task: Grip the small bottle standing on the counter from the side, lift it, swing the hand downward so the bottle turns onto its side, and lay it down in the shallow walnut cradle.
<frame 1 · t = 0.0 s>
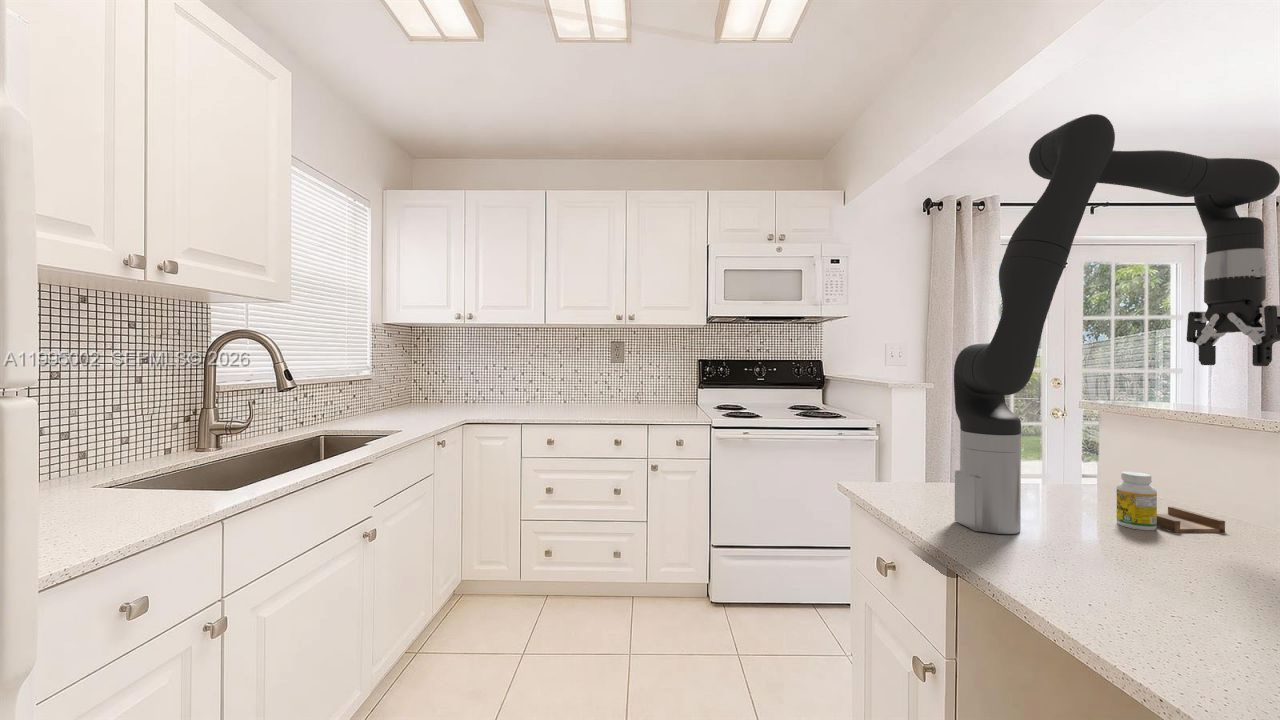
hand: (1233, 365, 97), 29 cm above the countertop, tool pointing down, fingers open, 8 cm apart
supplement bottle: (1136, 527, 97), on the countertop
cradle: (1173, 524, 98), on the countertop
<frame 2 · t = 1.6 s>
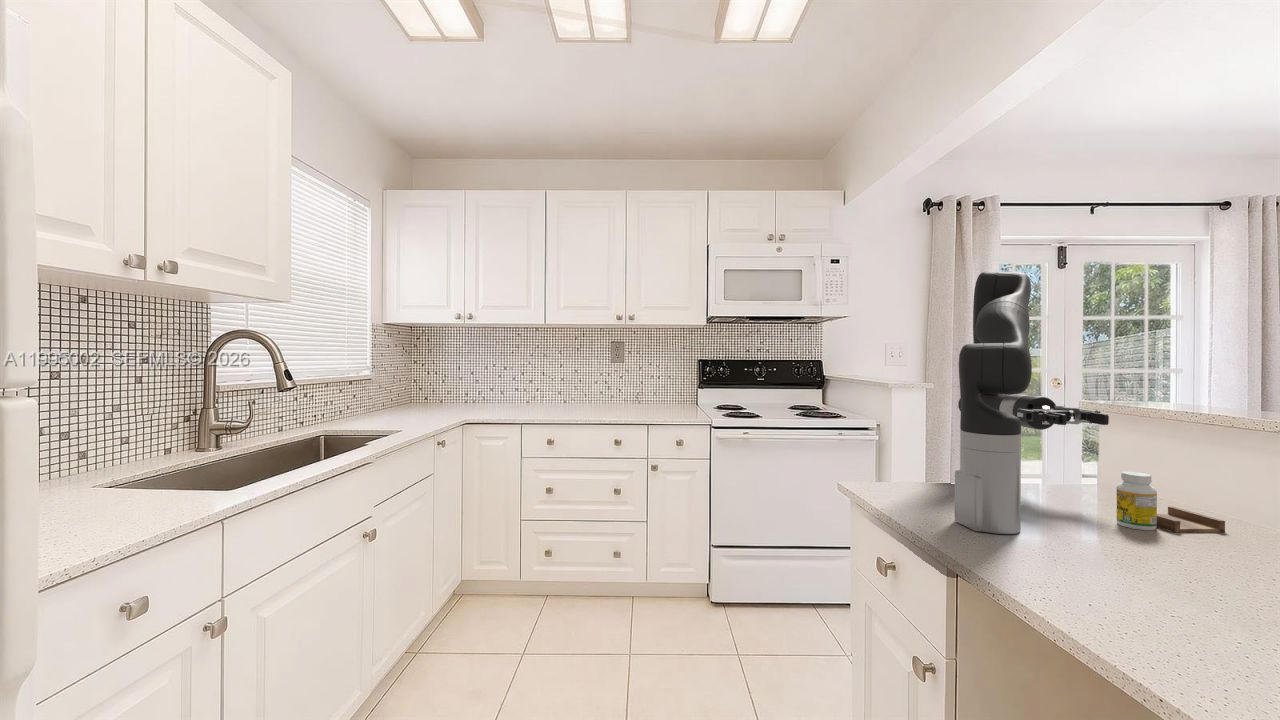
hand: (1086, 419, 108), 18 cm above the countertop, tool horizontal, fingers open, 8 cm apart
nothing on the countertop moved.
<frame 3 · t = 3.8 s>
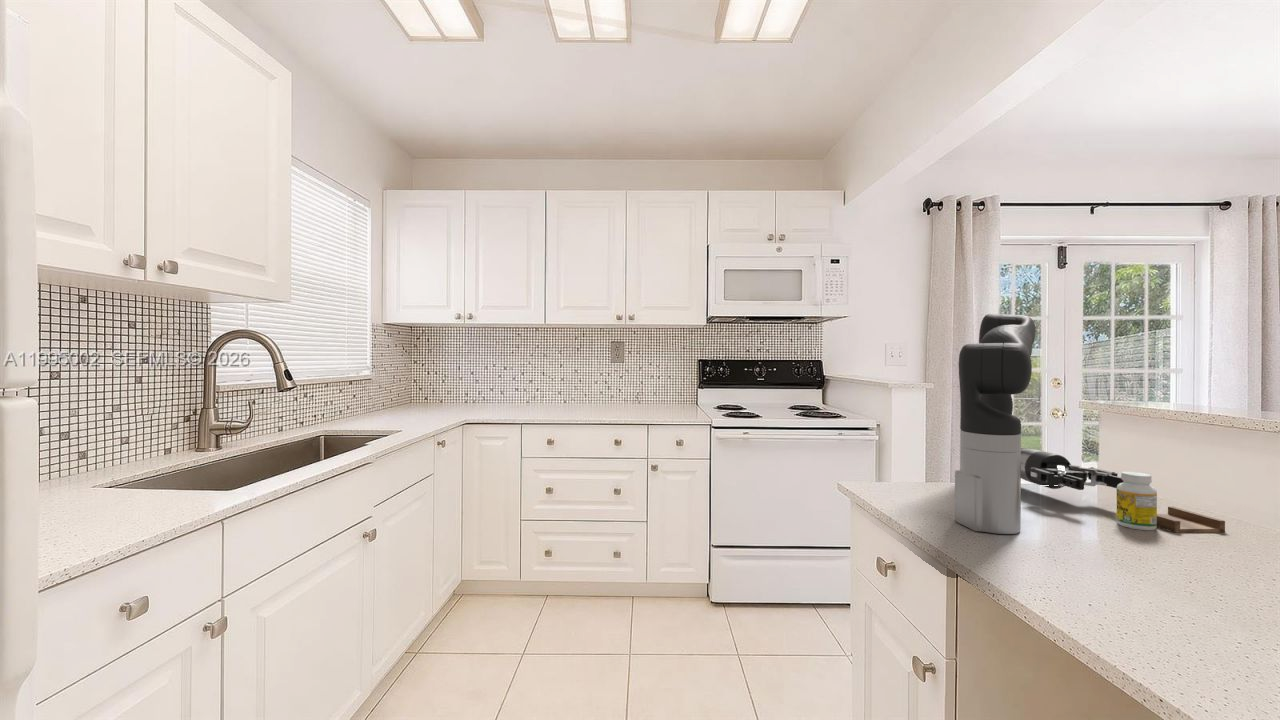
hand: (1104, 484, 103), 6 cm above the countertop, tool horizontal, fingers open, 8 cm apart
nothing on the countertop moved.
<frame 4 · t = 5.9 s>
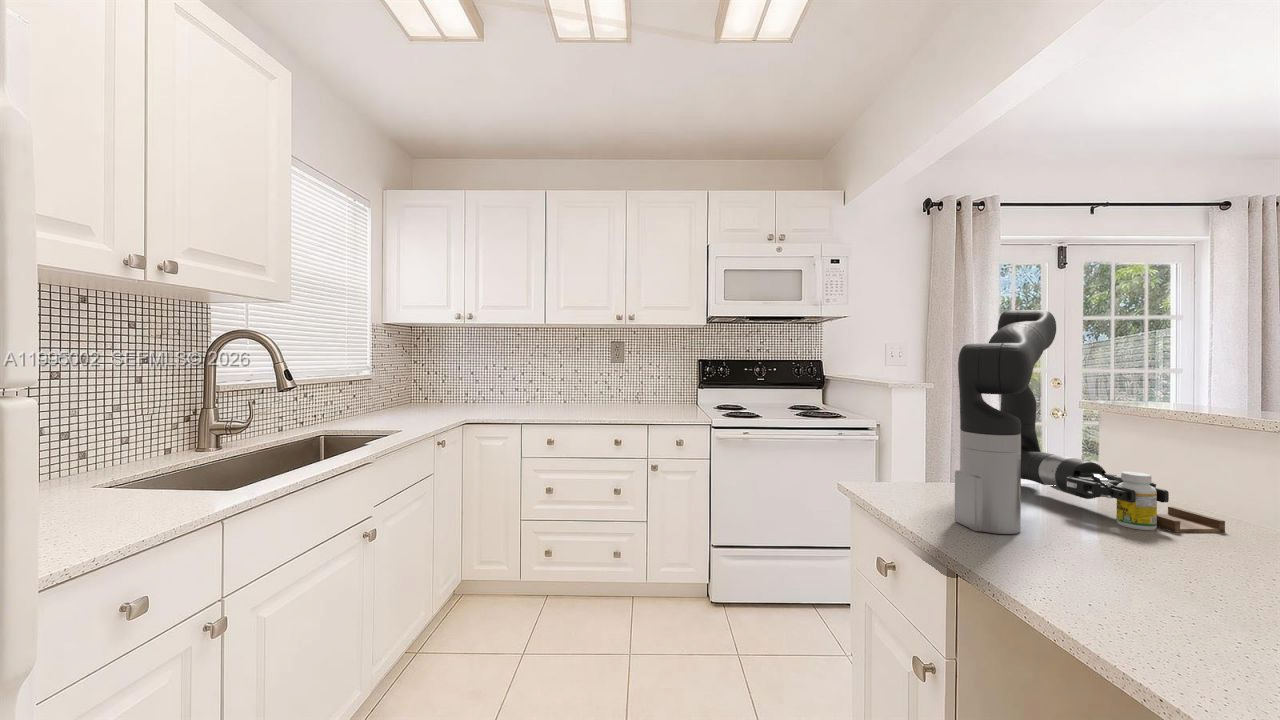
hand: (1149, 496, 94), 6 cm above the countertop, tool horizontal, fingers closed on supplement bottle, 5 cm apart
supplement bottle: (1136, 527, 97), on the countertop, touching gripper
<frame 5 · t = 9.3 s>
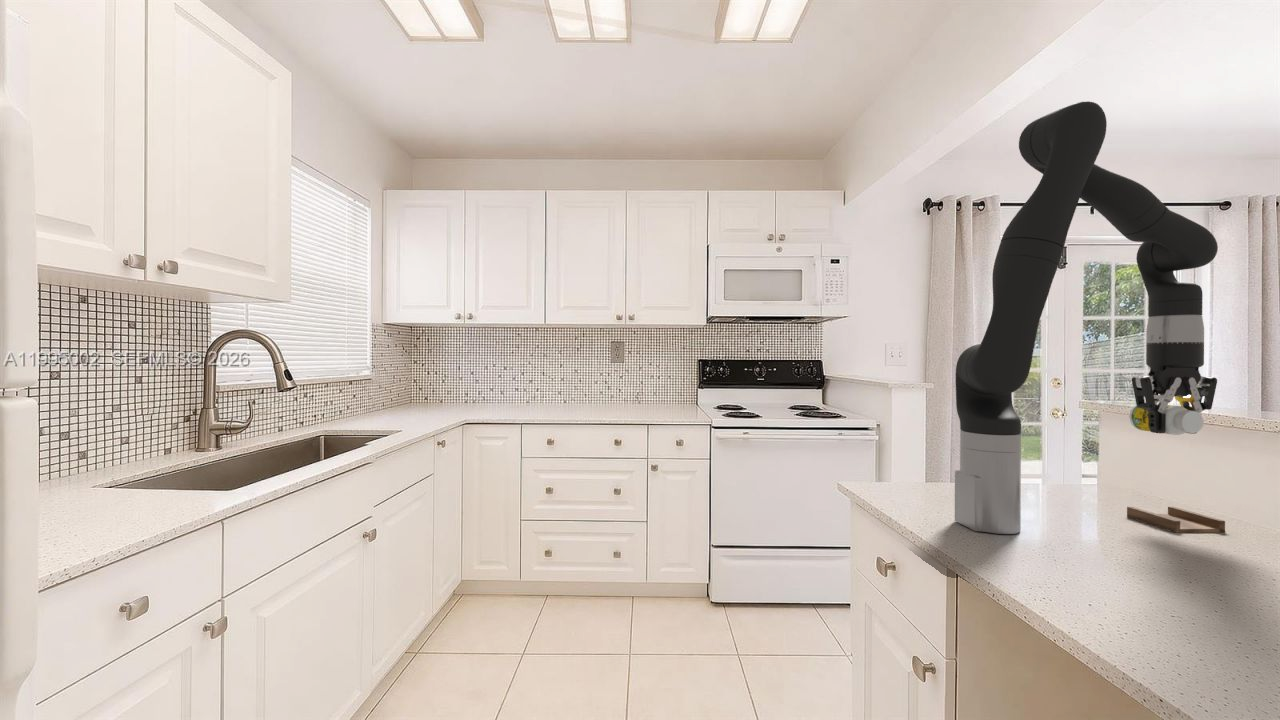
hand: (1173, 432, 98), 17 cm above the countertop, tool pointing down, fingers closed on supplement bottle, 5 cm apart
supplement bottle: (1140, 416, 104), point 19 cm above the countertop, touching gripper
when the fingers open (3 cm above the countertop, at t = 12.2 s): supplement bottle drops 2 cm, resting on cradle.
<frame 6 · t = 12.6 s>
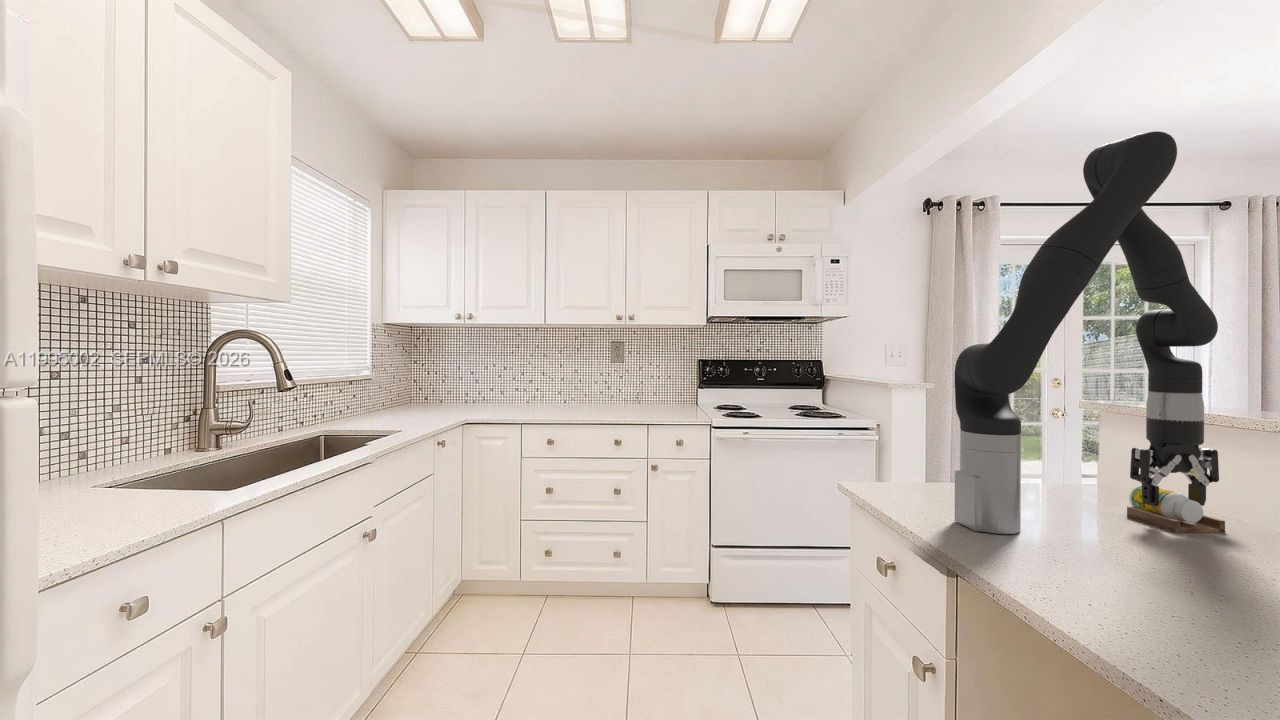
hand: (1173, 504, 98), 4 cm above the countertop, tool pointing down, fingers open, 8 cm apart
supplement bottle: (1140, 497, 104), point 3 cm above the countertop, touching cradle
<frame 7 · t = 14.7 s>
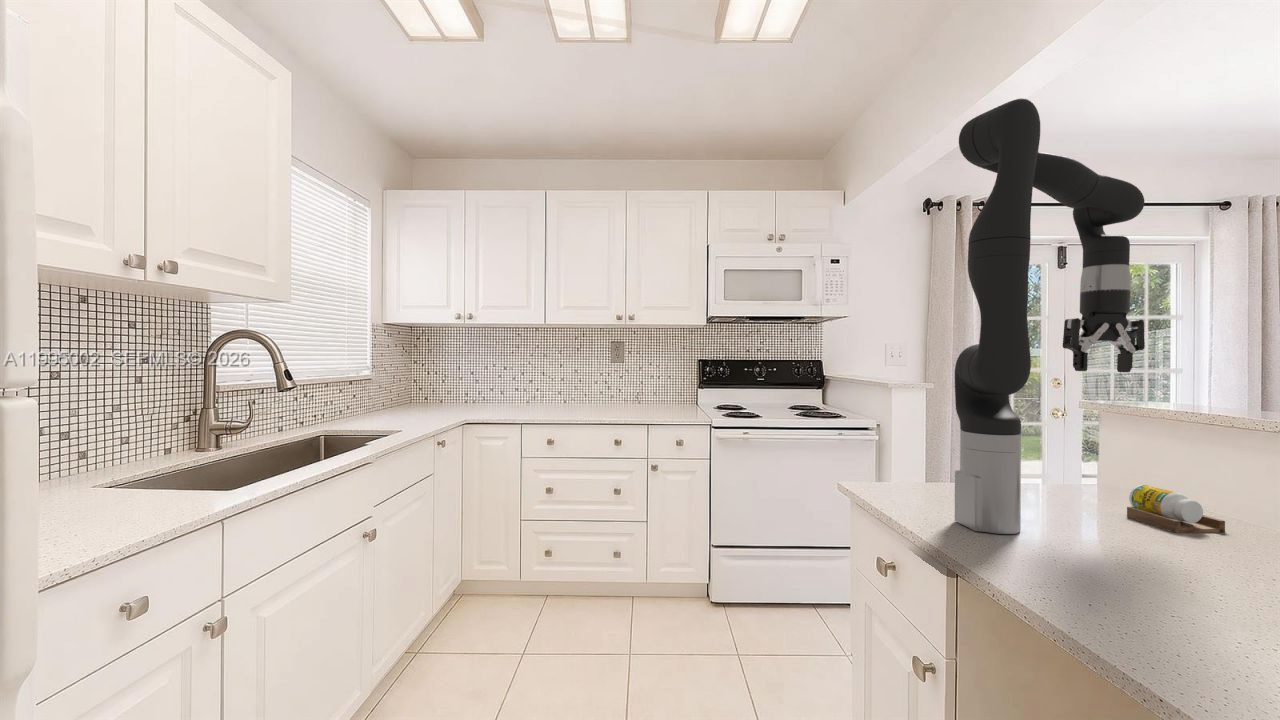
hand: (1102, 371, 106), 28 cm above the countertop, tool pointing down, fingers open, 8 cm apart
nothing on the countertop moved.
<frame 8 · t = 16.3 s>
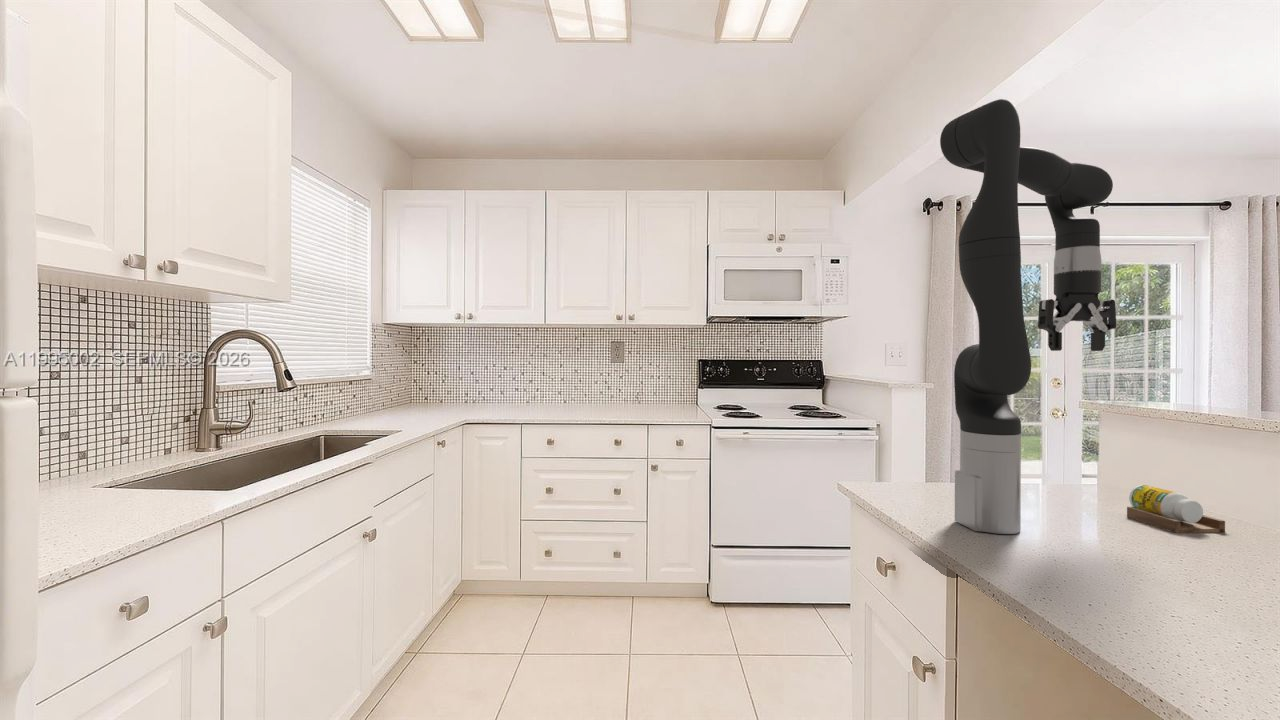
hand: (1076, 350, 109), 32 cm above the countertop, tool pointing down, fingers open, 8 cm apart
nothing on the countertop moved.
at the end: supplement bottle tilted 91°; supplement bottle inside the target area on the cradle (6.3 cm from its centre), point 3.3 cm above the cradle's base; the gripper is holding nothing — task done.
